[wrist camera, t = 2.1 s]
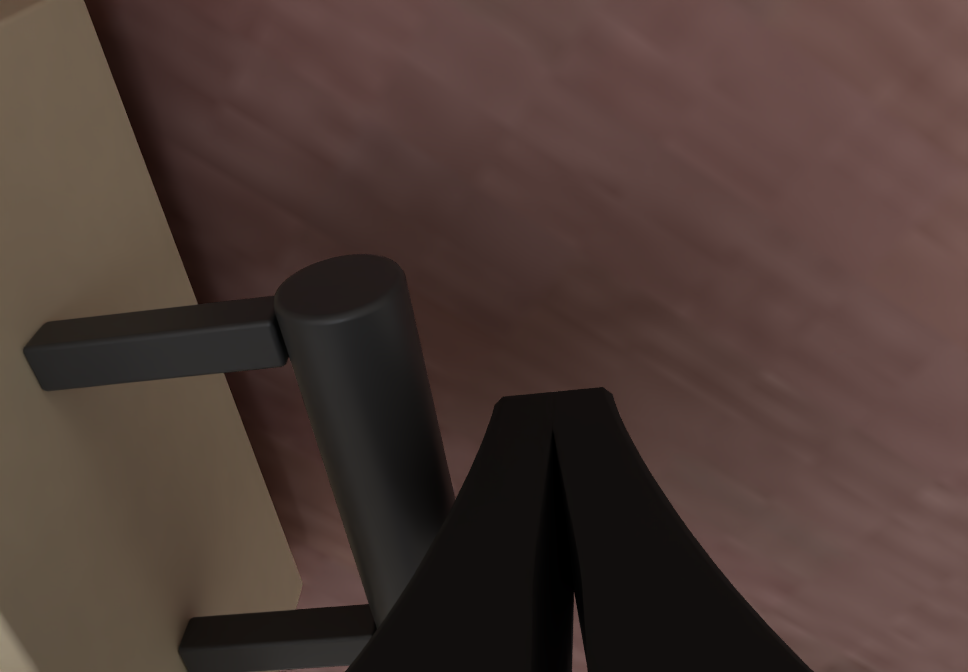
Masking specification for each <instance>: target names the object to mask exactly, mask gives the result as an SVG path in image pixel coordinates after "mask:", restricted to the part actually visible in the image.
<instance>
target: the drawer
mask: <svg viewBox="0 0 968 672" xmlns="http://www.w3.org/2000/svg"><path fill="white" fill-rule="evenodd" d="M288 358H290V361H291V364H292V367H293V370H294V373H295V376H296V379H297V383H298V386H299V389H300V392H301V395H302V398H303V401H304V404H305V407H306V410H307V414H308V417H309V420H310V423H311V426H312V429H313V432H314V435H315V438H316V441H317V445H318V448H319V451H320V454H321V457H322V460H323V463H324V466H325V469H326V472H327V476H328V479H329V482H330V485H331V488H332V491H333V494H334V497H335V500H336V503H337V507H338V510H339V513H340V516H341V519H342V522H343V525H344V528H345V531H346V534H347V538H348V541H349V544H350V547H351V550H352V553H353V556H354V559H355V562H356V565H357V569H358V572H359V575H360V578H361V581H362V584H363V587H364V590H365V593H366V596H367V600H368V603H369V604H365V605H351V606H337V607H324V608H310V609H297V610H296V607H297V603H298V600H299V596H300V592H301V588H302V584H303V583H302V580H301V577H300V575H299V572H298V569H297V567H296V564H295V561H294V559H293V556H292V553H291V551H290V548H289V545H288V543H287V540H286V537H285V535H284V532H283V529H282V527H281V524H280V521H279V519H278V516H277V513H276V511H275V508H274V505H273V503H272V500H271V497H270V495H269V492H268V489H267V487H266V484H265V481H264V479H263V476H262V473H261V471H260V468H259V465H258V463H257V460H256V457H255V455H254V452H253V449H252V447H251V444H250V441H249V439H248V436H247V433H246V431H245V428H244V425H243V423H242V420H241V417H240V415H239V412H238V409H237V407H236V404H235V401H234V399H233V396H232V393H231V391H230V388H229V385H228V383H227V380H226V377H225V375H224V373H227V372H237V371H246V370H256V369H265V368H275V367H282V366H284V365H285V364H286V363H287V360H288ZM454 502H455V496H454V491H453V487H452V483H451V478H450V474H449V469H448V465H447V460H446V456H445V451H444V447H443V442H442V438H441V433H440V429H439V424H438V420H437V415H436V411H435V406H434V402H433V398H432V393H431V389H430V384H429V380H428V375H427V371H426V366H425V362H424V357H423V353H422V348H421V344H420V339H419V335H418V330H417V326H416V321H415V317H414V313H413V308H412V304H411V299H410V295H409V290H408V286H407V281H406V277H405V274H404V272H403V270H402V269H401V268H400V266H399V265H398V264H397V263H396V262H394V261H393V260H391V259H389V258H386V257H383V256H379V255H372V254H353V255H345V256H339V257H334V258H330V259H326V260H323V261H320V262H317V263H315V264H312V265H310V266H307V267H305V268H303V269H301V270H300V271H298V272H296V273H295V274H293V275H292V276H290V277H289V278H288V279H286V280H285V281H284V282H283V283H282V284H281V286H280V287H279V288H278V290H277V291H276V294H275V296H267V297H259V298H250V299H241V300H232V301H224V302H215V303H206V304H198V303H197V300H196V297H195V295H194V292H193V289H192V287H191V284H190V282H189V279H188V276H187V274H186V271H185V268H184V266H183V263H182V260H181V258H180V255H179V252H178V250H177V247H176V244H175V242H174V239H173V236H172V234H171V231H170V228H169V226H168V223H167V220H166V218H165V215H164V212H163V210H162V207H161V204H160V202H159V199H158V196H157V194H156V191H155V188H154V186H153V183H152V180H151V178H150V175H149V172H148V170H147V167H146V164H145V162H144V159H143V156H142V154H141V151H140V148H139V146H138V143H137V140H136V138H135V135H134V132H133V130H132V127H131V124H130V122H129V119H128V116H127V114H126V111H125V108H124V106H123V103H122V100H121V98H120V95H119V92H118V90H117V87H116V84H115V82H114V79H113V76H112V74H111V71H110V68H109V66H108V63H107V60H106V58H105V55H104V52H103V50H102V47H101V44H100V42H99V39H98V36H97V34H96V31H95V28H94V26H93V23H92V20H91V18H90V15H89V12H88V10H87V7H86V4H85V2H84V0H0V672H279V671H280V670H289V669H304V668H319V667H334V666H349V665H351V664H352V662H353V661H354V660H355V659H356V657H357V656H358V655H359V654H360V652H361V651H362V650H363V648H364V647H365V646H366V644H367V643H368V641H369V640H370V639H371V637H372V636H373V634H374V633H375V632H376V630H377V629H378V627H379V626H380V625H381V623H382V622H383V620H384V619H385V618H386V616H387V615H388V613H389V612H390V610H391V609H392V607H393V606H394V604H395V603H396V601H397V600H398V598H399V597H400V595H401V594H402V592H403V591H404V589H405V588H406V586H407V584H408V583H409V581H410V580H411V578H412V577H413V575H414V573H415V571H416V570H417V568H418V566H419V565H420V563H421V561H422V559H423V558H424V556H425V554H426V553H427V551H428V549H429V547H430V546H431V544H432V542H433V541H434V539H435V537H436V536H437V534H438V532H439V530H440V529H441V527H442V525H443V523H444V521H445V519H446V518H447V516H448V514H449V512H450V510H451V508H452V506H453V504H454Z"/></svg>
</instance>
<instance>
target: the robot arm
mask: <svg viewBox="0 0 968 672" xmlns="http://www.w3.org/2000/svg"><path fill="white" fill-rule="evenodd" d="M574 593H575V599H576V605H577V610H578V616H579V622H580V628H581V633H582V639H583V645H584V651H585V656H586V662H587V668H588V672H814V671H812V670H811V669H810V668H809V667H808V666H807V665H806V664H805V663H804V662H803V661H802V660H801V659H800V658H799V657H798V656H797V655H796V654H795V653H794V652H793V650H792V649H791V648H790V647H789V646H788V645H787V644H786V643H785V642H784V641H783V640H782V639H781V638H780V637H779V636H778V635H777V634H776V633H775V632H774V631H773V630H772V629H771V628H770V627H769V626H768V624H767V623H766V622H765V621H764V620H763V619H762V618H761V617H760V616H759V614H758V613H757V612H756V611H755V610H754V609H753V608H752V607H751V606H750V604H749V603H748V602H747V601H746V600H745V599H744V598H743V597H742V595H741V594H740V593H739V592H738V591H737V590H736V588H735V587H734V586H733V585H732V584H731V583H730V581H729V580H728V579H727V578H726V577H725V575H724V574H723V573H722V572H721V570H720V569H719V568H718V567H717V565H716V564H715V563H714V562H713V560H712V559H711V558H710V557H709V555H708V554H707V553H706V551H705V550H704V549H703V547H702V546H701V545H700V543H699V542H698V541H697V540H696V538H695V537H694V536H693V534H692V533H691V532H690V530H689V529H688V528H687V526H686V525H685V523H684V522H683V521H682V519H681V518H680V516H679V515H678V514H677V512H676V511H675V509H674V508H673V506H672V505H671V503H670V502H669V500H668V499H667V497H666V496H665V494H664V493H663V491H662V489H661V488H660V486H659V485H658V483H657V482H656V480H655V479H654V477H653V476H652V474H651V473H650V471H649V469H648V468H647V466H646V464H645V463H644V461H643V459H642V458H641V456H640V454H639V452H638V450H637V448H636V447H635V445H634V443H633V441H632V439H631V438H630V436H629V434H628V432H627V430H626V428H625V426H624V423H623V421H622V419H621V417H620V414H619V412H618V409H617V407H616V404H615V401H614V398H613V394H611V393H610V392H609V391H607V390H606V389H605V388H603V387H599V388H589V389H578V390H568V391H558V392H547V393H537V394H527V395H516V396H506V397H502V398H501V399H500V400H499V401H498V402H497V403H496V404H495V406H494V409H493V413H492V416H491V419H490V422H489V425H488V428H487V430H486V433H485V436H484V438H483V441H482V443H481V446H480V448H479V451H478V453H477V455H476V457H475V460H474V462H473V464H472V467H471V469H470V471H469V473H468V475H467V477H466V479H465V481H464V483H463V485H462V488H461V490H460V492H459V494H458V496H457V498H456V500H455V502H454V504H453V506H452V508H451V510H450V512H449V514H448V516H447V518H446V519H445V521H444V523H443V525H442V527H441V529H440V530H439V532H438V534H437V536H436V537H435V539H434V541H433V542H432V544H431V546H430V547H429V549H428V551H427V553H426V554H425V556H424V558H423V559H422V561H421V563H420V565H419V566H418V568H417V570H416V571H415V573H414V575H413V577H412V578H411V580H410V581H409V583H408V584H407V586H406V588H405V589H404V591H403V592H402V594H401V595H400V597H399V598H398V600H397V601H396V603H395V604H394V606H393V607H392V609H391V610H390V612H389V613H388V615H387V616H386V618H385V619H384V620H383V622H382V623H381V625H380V626H379V627H378V629H377V630H376V632H375V633H374V634H373V636H372V637H371V639H370V640H369V641H368V643H367V644H366V646H365V647H364V648H363V650H362V651H361V652H360V654H359V655H358V656H357V657H356V659H355V660H354V661H353V662H352V664H351V665H350V666H349V667H348V669H347V670H346V671H345V672H572V650H573V610H574Z"/></svg>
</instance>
